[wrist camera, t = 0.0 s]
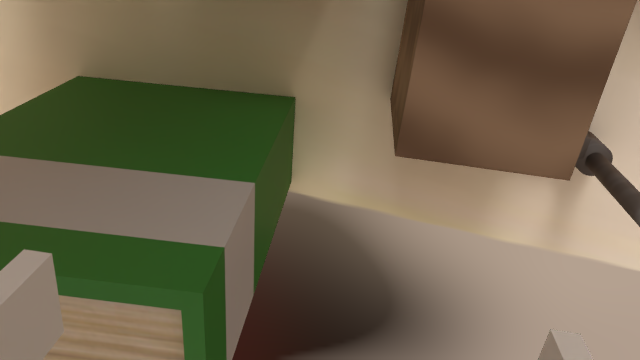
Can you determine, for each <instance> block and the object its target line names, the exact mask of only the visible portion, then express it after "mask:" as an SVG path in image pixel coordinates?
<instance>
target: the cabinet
mask: <svg viewBox="0 0 640 360" xmlns="http://www.w3.org/2000/svg"><path fill="white" fill-rule="evenodd" d="M636 1H637V0H408V4H407V9H406V15H405V20H404V26H403V31H402V37H401V43H400V48H399V54H398V59H397V65H396V70H395V76H394V82H393V87H392V93H391V98H390V100H391V112H392V124H393V136H394V148H395V156H399V157H406V158H413V159H420V160H428V161H435V162H442V163H449V164H456V165H463V166H470V167H477V168H484V169H491V170H499V171H506V172H513V173H520V174H527V175H534V176H541V177H548V178H555V179H563V180H570V178H571V176H572V173H573V170H574V167H575V166H576V167H577V168H578V169H579V171H580V172H581V173H583V174H585V175H588V176H596V178H597V179H598V180H599V181H600V182H601V183H602V184H603V186H604V187H605V188H606V189H607V190H608V191H609V192H610V194H611V195H612V196H613V197H614V198H615V199H616V200H617V202H618V203H619V204H620V205H621V206H622V207H623V208H624V209H625V211H626V212H627V213H628V214H629V215H630V216H631V217H632V219H633V220H634V221H635V222H636V223H637V224H638V225H639V227H640V192H639V191H638V190H637V189H636V188H635V187H634V186H633V185H632V184H631V183H630V182H629V181H628V180H627V179H626V178H625V177H624V176H623V175H622V174H621V173H620V172H619V171H618V170H617V169H616V168H615V167H614V166H613V165H612V164H611V163H612V159H613V157H612V153H611V151H610V150H609V149H608V148H607V147H606V146H605V145H604V144H603V143H602V142H601V141H600V140H599V139H598V138H597V137H596V136H594V135H593V134H592V133H591V132H589V131H588V130H589V127H590V125H591V122H592V119H593V117H594V114H595V111H596V109H597V106H598V103H599V101H600V98H601V95H602V92H603V90H604V87H605V84H606V82H607V79H608V76H609V74H610V71H611V68H612V66H613V63H614V60H615V58H616V55H617V52H618V50H619V47H620V44H621V42H622V39H623V36H624V34H625V31H626V28H627V26H628V23H629V20H630V17H631V15H632V12H633V9H634V7H635V4H636Z"/></svg>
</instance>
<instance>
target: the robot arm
mask: <svg viewBox="0 0 640 360" xmlns="http://www.w3.org/2000/svg"><path fill="white" fill-rule="evenodd" d="M63 333H64V327H63V321H62V315H61V308H60V302H59V295H58V289H57V283H56V276H55V270H54V263H53V257H52V253H45V252H38V251H32V250H25V249H24V250H23V251H22V252H21V253H19V254H18V255H17V256H16V257H15V258H14V259H13V260H12V261H11V262H10V263H9V264H7V265H6V266H5V267H4V268H3V269H2V270H1V271H0V360H43V359H44V357H45V356H46V355H47V353H48V352H49V351H50V349H51V348H52V347H53V346H54V344H55V343H56V342H57V340H58V339H59V338H60V336H61V335H62V334H63ZM538 360H594V359H593V358H592V355H591V354H590V351H589V349H588V348H587V346H586V344H585V342H584V340H583V338H582V336H581V334H578V333H571V332H564V331H558V330H550V332H549V334H548V336H547V339H546V341H545V344H544V346H543V348H542V351H541V353H540V356H539V358H538Z"/></svg>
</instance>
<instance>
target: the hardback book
mask: <svg viewBox="0 0 640 360" xmlns="http://www.w3.org/2000/svg"><path fill="white" fill-rule="evenodd" d="M294 116H295V97H286V96H276V95H266V94H256V93H245V92H235V91H225V90H215V89H204V88H194V87H184V86H174V85H163V84H153V83H143V82H133V81H122V80H112V79H102V78H92V77H81V76H78V77H76V78H74V79H72V80H70V81H68V82H66V83H64V84H62V85H60V86H58V87H56V88H54V89H52V90H50V91H48V92H46V93H44V94H42V95H40V96H38V97H36V98H34V99H32V100H30V101H28V102H26V103H24V104H22V105H20V106H18V107H16V108H14V109H12V110H10V111H8V112H6V113H4V114H2V115H0V271H1V270H2V269H3V268H4V267H5V266H6V265H7V264H9V263H10V262H11V261H12V260H13V259H14V258H15V257H16V256H17V255H18V254H19V253H21V252H22V251H23V250H24V249H25V250H32V251H38V252H45V253H52V257H53V263H54V270H55V276H56V283H57V289H58V295H59V302H60V308H61V315H62V321H63V327H64V333H63V334H62V335H61V336H60V338H59V339H58V340H57V342H56V343H55V344H54V346H53V347H52V348H51V349H50V351H49V352H48V353H47V355H46V356H45V357H44V359H43V360H232V358H233V355H234V352H235V349H236V346H237V343H238V340H239V337H240V334H241V331H242V328H243V325H244V322H245V319H246V316H247V313H248V310H249V306H250V304H251V301H252V298H253V295H254V292H255V289H256V286H257V283H258V280H259V277H260V273H261V270H262V268H263V264H264V262H265V259H266V256H267V253H268V250H269V247H270V244H271V241H272V238H273V235H274V232H275V228H276V226H277V223H278V219H279V216H280V213H281V211H282V208H283V205H284V202H285V198H286V196H287V192H288V190H289V187H290V184H291V176H292V156H293V136H294Z"/></svg>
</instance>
